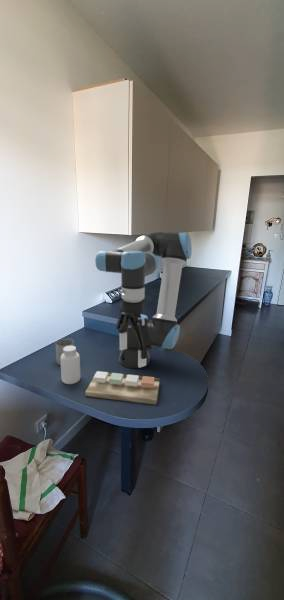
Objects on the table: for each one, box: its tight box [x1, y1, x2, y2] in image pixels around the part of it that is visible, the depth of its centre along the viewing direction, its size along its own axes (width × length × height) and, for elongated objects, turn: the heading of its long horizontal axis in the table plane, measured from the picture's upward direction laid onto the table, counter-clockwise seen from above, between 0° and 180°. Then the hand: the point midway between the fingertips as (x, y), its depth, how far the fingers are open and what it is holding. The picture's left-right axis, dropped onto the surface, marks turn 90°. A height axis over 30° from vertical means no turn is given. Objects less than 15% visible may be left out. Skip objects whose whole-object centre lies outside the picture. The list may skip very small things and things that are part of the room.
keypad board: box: [84, 372, 161, 405], centre depth 113 cm, size 14×28×3 cm, turn 82°
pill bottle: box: [60, 345, 81, 385], centre depth 117 cm, size 8×8×15 cm
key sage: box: [109, 372, 124, 385], centre depth 112 cm, size 5×5×2 cm
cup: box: [55, 338, 75, 366], centre depth 133 cm, size 8×8×10 cm
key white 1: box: [92, 370, 109, 383], centre depth 113 cm, size 5×5×2 cm
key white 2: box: [125, 374, 140, 386], centre depth 111 cm, size 5×5×2 cm
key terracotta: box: [141, 375, 156, 388], centre depth 110 cm, size 5×5×2 cm
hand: (132, 357), depth 96 cm, fingers open, 13 cm apart
